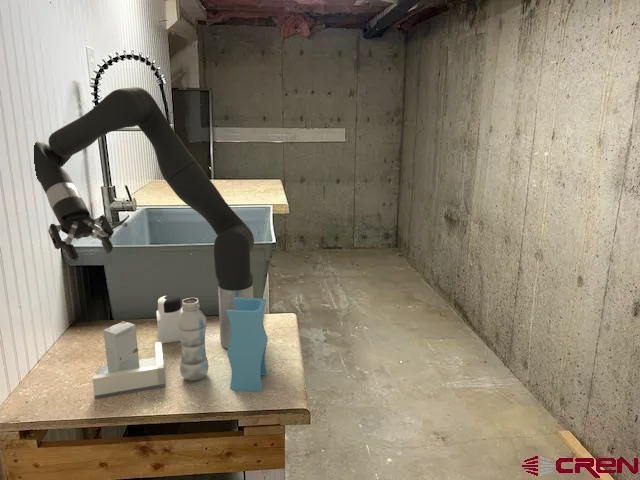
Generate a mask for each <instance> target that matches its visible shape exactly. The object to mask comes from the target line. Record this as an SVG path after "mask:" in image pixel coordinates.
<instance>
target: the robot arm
mask: <svg viewBox="0 0 640 480" xmlns="http://www.w3.org/2000/svg"><path fill="white" fill-rule="evenodd" d="M134 127H138V128H139V129H140V130H141V131H142V133H143V134H144V135H145V136H146V138H147V139H148V141H149V142H150V144H151V146H152V147H153V150H154V153H155V156H156V161H157V165H158V168H159V171H160V173H161V175H162V177H163V179H164V181H165V182H166V183H167V184H168V186H169V187H170V189H171V190H172V191H173V192H174V193H175V195H176V196H177V197H178V198H179V199H180V200H181V201H182V202H183V203H185V204H186V205H187V206H189V207H190V208H191V209H192V210H194V211H195V212H197V213H198V214H199V215H201V217H203V219H205V220H206V221H207V223H208V224H209V226H211V228H212V230H213V231H214V233H215V234H216V237H215V240H214V243H213V258H214V261H213V262H214V271H215V277H216V279H217V286H218V287H217V291H218V314H219V317H218V318H219V333H220V335H219V338H220V339H219V341H220V345H221V347H223V348H224V349H227V350H228V348H229V345H230V340H231V325H230V321H229V318H228V315H227V312H226V311H227V310H236V308H235V304H234V297H240V298H254V278H253V277H254V276H253V274H252V271H251V254H250V253H251V251H252V250H253V248H254V245H255V238H254V234H253V232H252V230H251V229H250V228H249V227H248V225H247V224H246V223H245V222H244V221H243V220H242V219H241V218H240V217H239V216H238V214H237V213H236V212H235V211H234V210H233V209H232V208H231V207H230V205H228V203H227V202H226V200H225V199H224V198H223V196H222V194H221V193H220V191H219V190H218V189H217V187H216V186H215V185H214V183H213V182H212V180H211V179H210V178H209V176H208V175H207V173H206V172H205V170H204V169H203V167H202V166H201V165H200V163H199V162H198V160H196V158H195V157H194V156H193V155H192V154H191V152H190V151H189V149H188V148H187V147H186V145H185V143H183V141H182V140H181V139H180V137H179V136H178V134H177V133H176V132H175V131H174V129H173V127H172V126H171V124H170V123H169V121H168V120H167V118H166V116H165V114H164V113H163V111H162V109H161V108H160V106H159V105H158V103H157V100H155V98H154V96H152V94H151V93H149V91H148V90H146V89H145V88H143V87H141V86H136V85H135V86H134V85H133V86H126V87H121V88H120V87H119V88H116V89H114V90H112V91H111V92H109V93H108V94H107V95H106V96H105V97H104V98H103V99H102V100H100V101H99V103H97V104H96V105H95V106H94V107H93V108H92V109H90V110H89V111H88V112H86V113H84V114H83V115H82V116H81V117H79V118H76V119H75V120H73V121H71V122H69V123H67V124H66V125H64V126H62V127H60V128H59V129H57V130H55V131H54V132H52V133H51V134H50V136H49V137H48V142H45V141H41V140H37V142H36V143H35V145H34V164H35V171H36V176H37V179H38V180H37V179H36V180H37V181H38V182H39V183H40V185H41V187H42V189H43V191H44V193H45V195H46V197H47V200H48V203H49V207H50V209H51V210H52V211H53V213H54V216H55V218H56V220H57V222H58V224H57V225H56V224H55V223H51V224H50V225H49V228H48V234H49V237H50V239H51V241H52V244H53V246H54V249H56V250H60V249H64V250H65V252H66V254H67V256H68V258H69V259H70V260H72V261H73V262H77V261H78V260H79V255H78V252H77V250H76V248H75V246H74V245H73V244H72V242H73V239H76V240H79V239H82V238H88V237H91V238H93V239H96V240H99V241H101V245H102V247H103V248H104V251H105V252H106V254H107V255H109V254H111V253H112V251H113V248H114V246H113V244H112V242H111V240H110V239H111V238H112V237H113V234H114V230H113V228H112V226H111V224H110V223H109V221H108V220H107V218H106V216H104V215H101V216H100V217H99V218H93V217H92V215H91V213H90V211H89V208H88V207H87V205H86V203H85V202H84V199H83V198H82V196H81V194H80V191H79V190H78V189H77V187H76V186H75V184H74V183H73V181H72V178H71V176H70V174H69V173H68V171H66V169H64V168H62V167H64V166H65V164H66V163H67V162H68V161H69V160H70V159H71V157H72V156H74V155H75V154H77V153H79V152H82V151H83V150H85V149H86V148H88V147H90V146H91V145H92V144H93V143H95V142H96V141H97V140H98V139H99V138H100V137H103V136H104V135H106V134H109V133H111V132H115V131H118V130H122V129H125V128H134ZM60 232H63V233H64V234H66V235H67V237H66V240H64V241H63V239H62V238H61V237H62V236H61V235H60Z"/></svg>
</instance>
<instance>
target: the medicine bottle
mask: <svg viewBox="0 0 640 480" xmlns="http://www.w3.org/2000/svg"><path fill="white" fill-rule="evenodd" d="M181 301H182V300H181V298H180V296H179V295H174V294H167V295H164V296H161V297H159V298H158V300H157V310H156V311H155V313H156V325H157V335H158V342H161V344H163V345H164V344H168V343H169V344H170V343H174V342H181V338H180V334H179V329H178V319H179V317H180V315H181V314H182V312H183V311H184V310H183V309H182V306H181V305H182V302H181Z"/></svg>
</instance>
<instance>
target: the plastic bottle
mask: <svg viewBox="0 0 640 480" xmlns="http://www.w3.org/2000/svg"><path fill="white" fill-rule="evenodd" d="M181 301H182V302H181V305H182V306H181V308H182V309H183V312H182V314H181V315H180V317H179V319H178V329H179V334H180V338H181V341H180V347H181V353H180V357H181V359H180V364H179V371H180V376H181V377H182V378H183V379H184V380H186V381H189V382H195V381H199V380H202V379H204V378H205V377H206V375H208V371H209V367H210V365H209V361H208V357H207V351H206V331H207V317H206V315H205V314H204V313H203V312H202V311H201V310H200V308H201V306H200V300H199V299H198V298H197V297H189V298H188V297H187V298H185V299H182V300H181Z"/></svg>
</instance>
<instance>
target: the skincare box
mask: <svg viewBox="0 0 640 480" xmlns="http://www.w3.org/2000/svg"><path fill="white" fill-rule="evenodd" d="M136 329H137V328H136V324H134V323H131V322H127V321H124V320H123V321H121V322H119V323H117V324H113V325H112V326H110V327H108V328H105V329H103V331H102V332H103V339H104V349H105V358H106V365H107V367H108V373H112V372H119V371H125V370H131V369H138V368H140V367H139V360H140V358H139V351H138V350H139V347H138V340H137V339H138V337H137V330H136Z"/></svg>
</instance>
